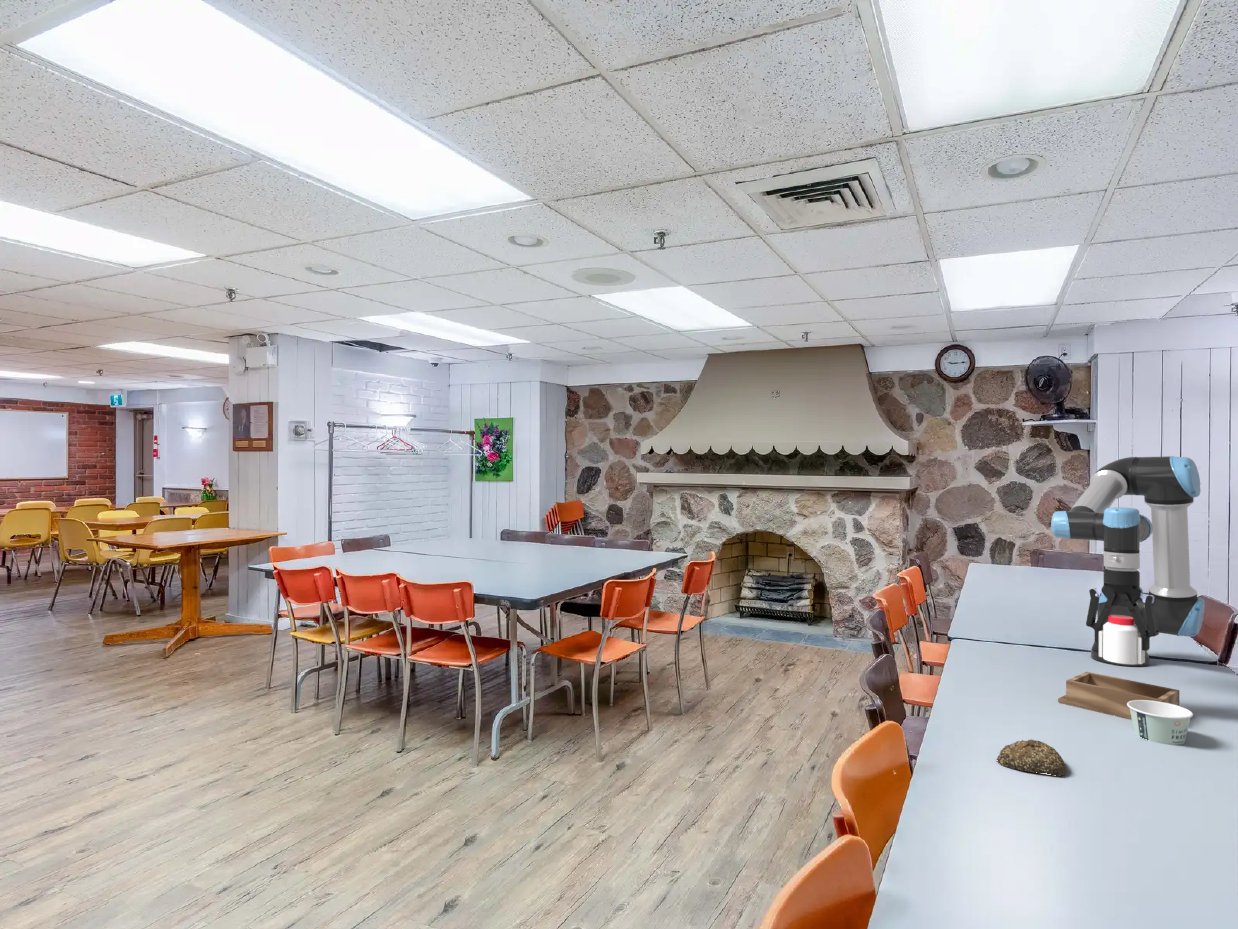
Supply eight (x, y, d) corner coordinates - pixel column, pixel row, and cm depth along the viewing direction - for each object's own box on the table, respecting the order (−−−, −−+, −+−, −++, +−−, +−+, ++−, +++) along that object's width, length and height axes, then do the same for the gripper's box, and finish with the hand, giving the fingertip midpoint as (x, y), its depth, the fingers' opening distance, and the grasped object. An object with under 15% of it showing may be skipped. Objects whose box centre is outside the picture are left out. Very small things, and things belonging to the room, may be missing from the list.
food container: (1175, 751, 155) (1175, 720, 155) (1115, 733, 166) (1115, 704, 166) (1204, 741, 161) (1204, 712, 161) (1144, 724, 172) (1144, 697, 172)
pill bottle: (1146, 665, 178) (1146, 620, 178) (1111, 663, 179) (1111, 619, 179) (1131, 657, 185) (1131, 614, 185) (1097, 655, 187) (1097, 613, 187)
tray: (1079, 692, 196) (1079, 670, 196) (1188, 716, 177) (1188, 691, 177) (1058, 702, 187) (1058, 679, 187) (1170, 729, 168) (1170, 703, 168)
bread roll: (1066, 782, 140) (1066, 757, 140) (994, 768, 147) (994, 744, 147) (1066, 760, 151) (1066, 736, 151) (1000, 747, 158) (1000, 725, 158)
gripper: (1070, 565, 188) (1070, 653, 188) (1166, 575, 172) (1166, 671, 172) (1081, 563, 193) (1081, 649, 193) (1176, 572, 176) (1176, 666, 176)
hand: (1121, 659), depth 182 cm, fingers closed on pill bottle, 8 cm apart
